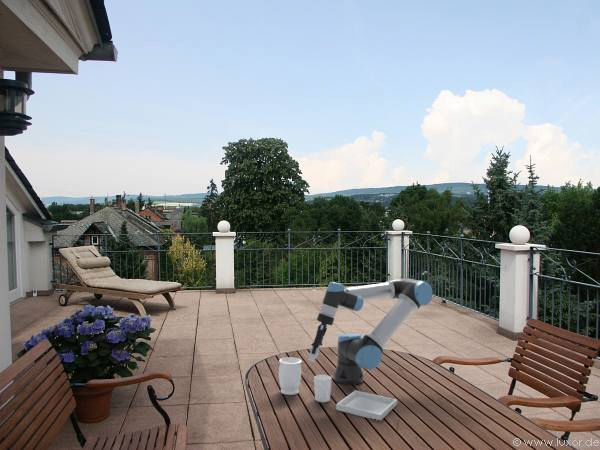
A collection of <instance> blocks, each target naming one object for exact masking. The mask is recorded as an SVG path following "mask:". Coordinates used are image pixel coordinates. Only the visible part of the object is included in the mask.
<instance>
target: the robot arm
mask: <svg viewBox="0 0 600 450" xmlns="http://www.w3.org/2000/svg"><path fill="white" fill-rule="evenodd" d="M433 297H434V296H433V289H432V286H431V285H430V284H429V283H428V282H426V281H424V280H419V279H418V280H417V279H412V278H407V277H404V278H397V279H391V280H390V279H389V280H386V281H385V282H383V283H376V284H375V283H374V284H373V283H372V284H367V285H359V286H352V287H345V285H344V284H341V283H338V282H335V281H330V282H328V286H327V288H326V291H325V294H324V297H323V301H322V304H320V305H319V307H320V309H319V313H318V315H317V318H316V322H320V324H319V325H318V326H317V330H316V335H315V338H314V341H313V343H311V344H310V345H311V349H310V352H309V355H308V358H307V361H310V362H312V363H314V362H315V360H317V358H318V355H319V351H320V350H321V347H322V346H323V339H324V336H325V334H326V332H327V330H328V326H333V323H334V321H335V317H336V316H337V315H336V314H337V312H338V309H339V307H343V308H345V309H348V310H351V311H354V312H359V311H361V310H362V308H363V306H364V301H370V300H378V299H385V298H386V299H389V300H391V299H398V301H396V303H394V305H393V306H392V308H390V310H389V311H388V312H387V313H386V314H385V316H384V317H382V319H381V321H379V323H378V324H377V325H376V326H375V328H374V329H372V331H371V332H370V333H369V334H365V335H364V336H363V337H362V335H361V334H358V333H342V334H339V335H338V339H337V363H336V364H337V365H336V367H335V370H334V371H333V372H334V373H333V381H335V382H337V383H338V384H342V385H358V384H361V383H363V382H364V377H365V376H364V372H363V370H362V369H365V370H369V371H370V370H373V369H376V368H377V367H378V366H379V365H380V364H381V362H382V357H383V352H384V346H385V345H386V344H387V343H388V342H389V341H390V339H391V338H392V337H393V335H394V334H395V333H396V332H397V330H398V329H400V327H401V326H402V325H403V323H404V322H405V321H406V320H407V318H408V317H409V316H410V315H411V314H412V312H417V311H418V310H419V309H420V307H421V306H427V305H430V304H431V302H432V299H433Z"/></svg>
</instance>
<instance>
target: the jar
mask: <svg viewBox="0 0 600 450" xmlns="http://www.w3.org/2000/svg"><path fill="white" fill-rule="evenodd" d="M278 363H279V368H278V380H279V386H280V388H281V389H280V393H281V394H283V395H286V396H294V395H297V394H299V388H300V385H301V380H302V365H301V364H302V359H301V358H298V357H294V356H293V357H290V356H289V357H282V358H280V359H279V360H278Z"/></svg>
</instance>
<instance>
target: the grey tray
mask: <svg viewBox="0 0 600 450" xmlns="http://www.w3.org/2000/svg"><path fill="white" fill-rule="evenodd" d="M396 405H397V406H398V399H396V398H392V397H388V396H383V395H378V394H374V393H370V392H366V391H362V390H361V391H360V390H357V389H355V390H354V391H352V392H351V393H349V394H348V395H347V396H345V397H344V398H343V399H341V400H340V401H338V402H337V403H336V404H335V410H336V411H338V412H339V411H340V412H343V413H347V414H352V415H355V416H358V417H362V418H367V419H370V418H372V419H371V420H374V419H376V420H375V421H378V420H380V421H379V422H381V421H383V420H384V418H385V417H386V416H387V415H389V414H390V413H391V412H392V411H393V410H394V409H393V408H394V407H395V406H396ZM397 406H396V407H397ZM396 407H395V408H396ZM392 409H393V410H392ZM391 410H392V411H391ZM390 411H391V412H390ZM389 412H390V413H389Z"/></svg>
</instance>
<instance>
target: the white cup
mask: <svg viewBox="0 0 600 450" xmlns="http://www.w3.org/2000/svg"><path fill="white" fill-rule="evenodd" d="M332 379H333V377H332V376H331V375H328V374H317V375H316V374H315V376H313V380H314V381H313V382H314V383H313V384H314V386H313V388H314V400H315V401H316V402H318V403H326V402H327V403H328V402H329V401H330V400H331V394H332V393H331V392H332Z"/></svg>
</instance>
